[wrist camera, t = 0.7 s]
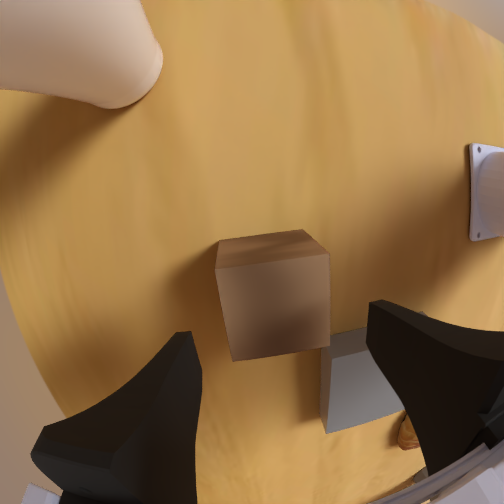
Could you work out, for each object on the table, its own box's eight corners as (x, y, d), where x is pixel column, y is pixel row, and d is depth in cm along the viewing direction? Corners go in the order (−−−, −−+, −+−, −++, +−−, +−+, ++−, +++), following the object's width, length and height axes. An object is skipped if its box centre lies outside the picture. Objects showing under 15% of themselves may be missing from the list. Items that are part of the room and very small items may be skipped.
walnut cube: (302, 228, 17) (329, 253, 12) (306, 302, 18) (329, 345, 13) (219, 239, 17) (214, 269, 12) (231, 313, 18) (232, 361, 13)
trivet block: (419, 309, 20) (439, 327, 17) (402, 385, 22) (415, 404, 20) (319, 334, 19) (331, 358, 17) (318, 410, 22) (326, 433, 19)
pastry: (424, 432, 26) (435, 450, 23) (384, 446, 26) (394, 467, 22) (451, 385, 24) (466, 404, 20) (408, 400, 23) (424, 423, 20)
